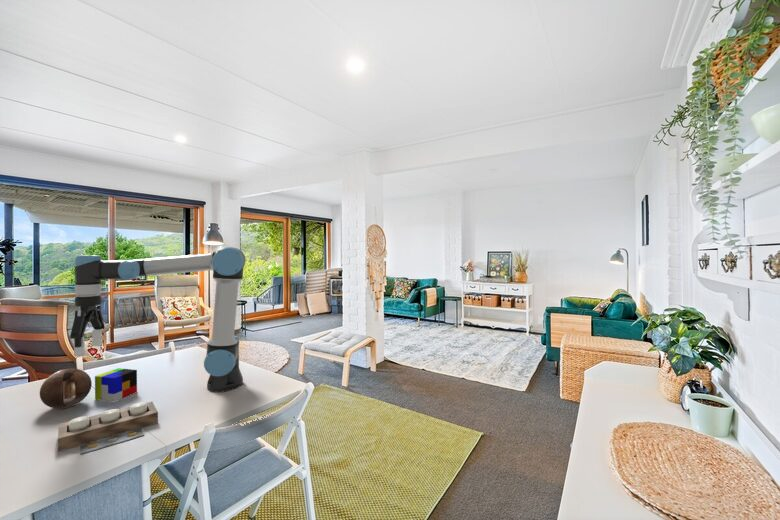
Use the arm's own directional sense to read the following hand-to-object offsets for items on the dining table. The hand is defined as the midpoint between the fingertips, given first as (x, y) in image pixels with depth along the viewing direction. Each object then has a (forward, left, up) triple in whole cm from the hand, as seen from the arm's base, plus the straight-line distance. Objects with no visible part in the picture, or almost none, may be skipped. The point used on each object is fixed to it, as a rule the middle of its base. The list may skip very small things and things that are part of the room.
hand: (88, 350), depth 129 cm
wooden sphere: (+14, -5, -25) cm, 29 cm away
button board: (-20, +13, -24) cm, 35 cm away
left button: (-12, +17, -22) cm, 30 cm away
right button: (-24, +5, -22) cm, 33 cm away
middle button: (-18, +11, -22) cm, 30 cm away
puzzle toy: (+3, -16, -25) cm, 30 cm away
